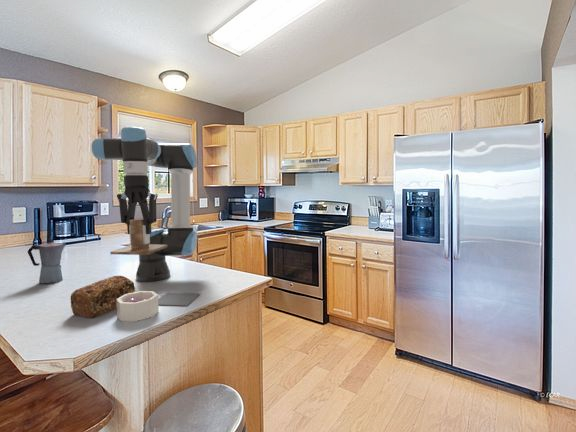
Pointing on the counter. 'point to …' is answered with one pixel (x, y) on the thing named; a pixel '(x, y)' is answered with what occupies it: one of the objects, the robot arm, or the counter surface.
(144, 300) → the bowl
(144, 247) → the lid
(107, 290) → the bread
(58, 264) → the moka pot
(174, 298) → the mat
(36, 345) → the counter surface
